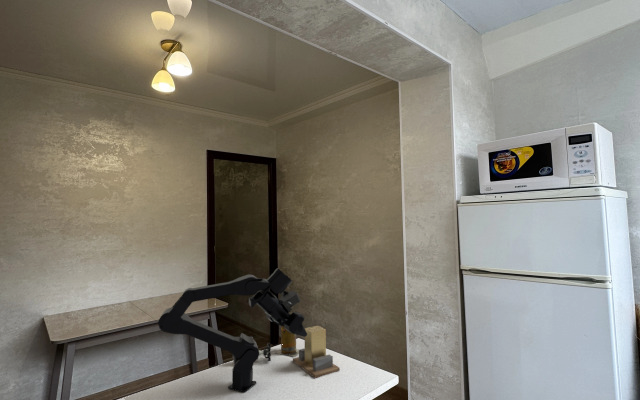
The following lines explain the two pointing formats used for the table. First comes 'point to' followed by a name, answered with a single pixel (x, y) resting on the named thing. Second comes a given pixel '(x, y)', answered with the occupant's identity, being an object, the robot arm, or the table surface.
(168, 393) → the table surface
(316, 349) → the brass block
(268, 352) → the valve
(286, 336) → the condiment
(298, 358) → the vise
